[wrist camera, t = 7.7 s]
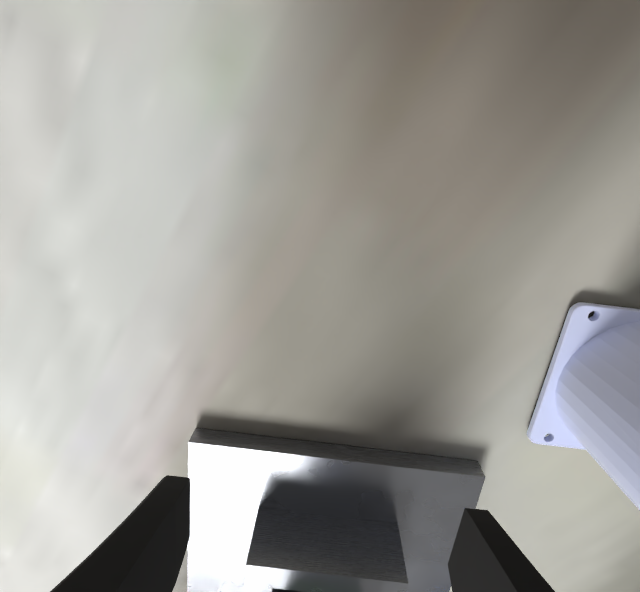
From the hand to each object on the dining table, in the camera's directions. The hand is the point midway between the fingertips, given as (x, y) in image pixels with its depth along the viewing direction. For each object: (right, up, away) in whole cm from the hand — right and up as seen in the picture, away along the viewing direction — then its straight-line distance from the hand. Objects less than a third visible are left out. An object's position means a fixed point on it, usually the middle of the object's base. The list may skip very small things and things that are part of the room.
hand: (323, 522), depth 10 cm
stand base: (0, -10, +14) cm, 17 cm away
